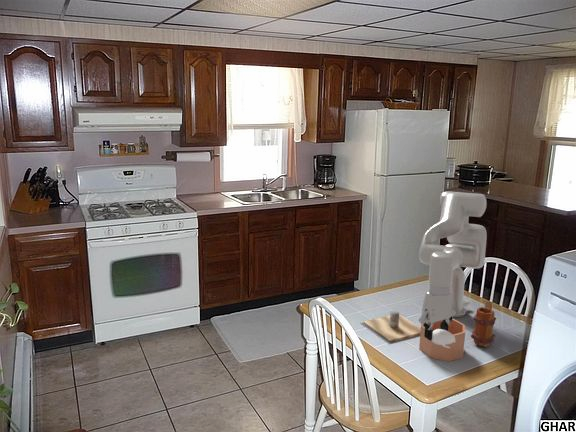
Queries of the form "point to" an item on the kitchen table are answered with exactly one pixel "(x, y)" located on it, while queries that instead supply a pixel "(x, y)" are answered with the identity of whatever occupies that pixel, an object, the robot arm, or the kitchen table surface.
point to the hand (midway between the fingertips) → (436, 336)
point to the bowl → (444, 352)
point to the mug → (484, 325)
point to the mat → (386, 340)
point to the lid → (393, 327)
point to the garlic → (442, 337)
